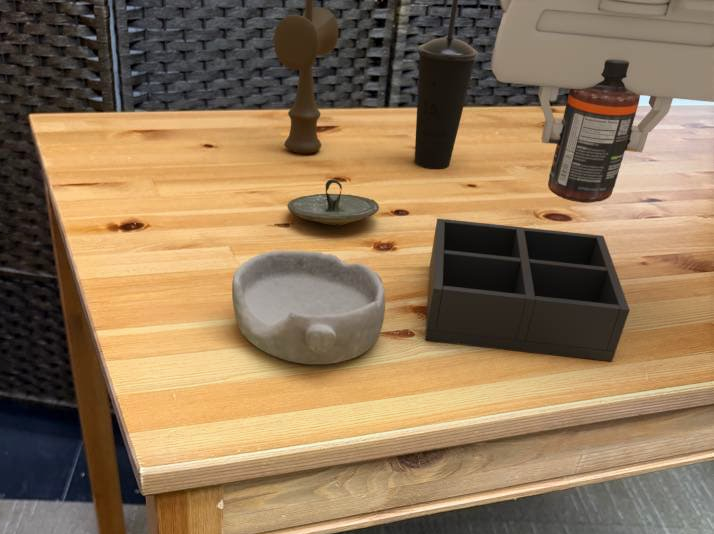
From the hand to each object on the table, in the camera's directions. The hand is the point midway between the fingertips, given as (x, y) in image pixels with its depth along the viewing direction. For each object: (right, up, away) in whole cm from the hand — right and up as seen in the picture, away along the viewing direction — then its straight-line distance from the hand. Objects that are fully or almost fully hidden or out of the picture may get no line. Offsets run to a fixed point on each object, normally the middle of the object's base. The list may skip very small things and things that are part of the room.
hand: (591, 146), depth 73 cm
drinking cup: (-8, +17, +39) cm, 44 cm away
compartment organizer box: (-5, -13, +7) cm, 15 cm away
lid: (-23, +2, +22) cm, 31 cm away
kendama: (-26, +19, +41) cm, 52 cm away
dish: (-25, -16, +1) cm, 30 cm away
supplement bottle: (0, -3, +3) cm, 4 cm away
